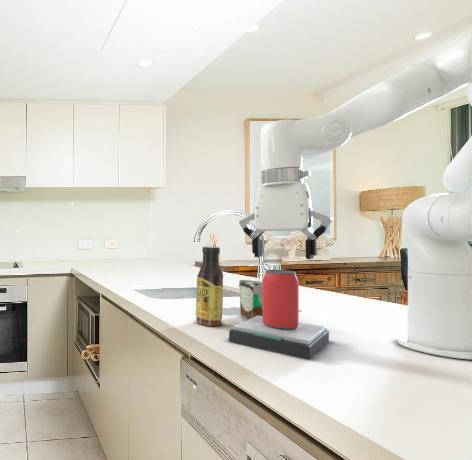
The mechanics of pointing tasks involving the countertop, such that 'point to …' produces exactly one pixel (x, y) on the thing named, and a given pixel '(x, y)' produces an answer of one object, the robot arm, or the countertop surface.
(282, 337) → the scale
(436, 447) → the countertop surface
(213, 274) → the sauce bottle
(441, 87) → the robot arm
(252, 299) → the food container
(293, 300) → the beer can
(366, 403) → the countertop surface
